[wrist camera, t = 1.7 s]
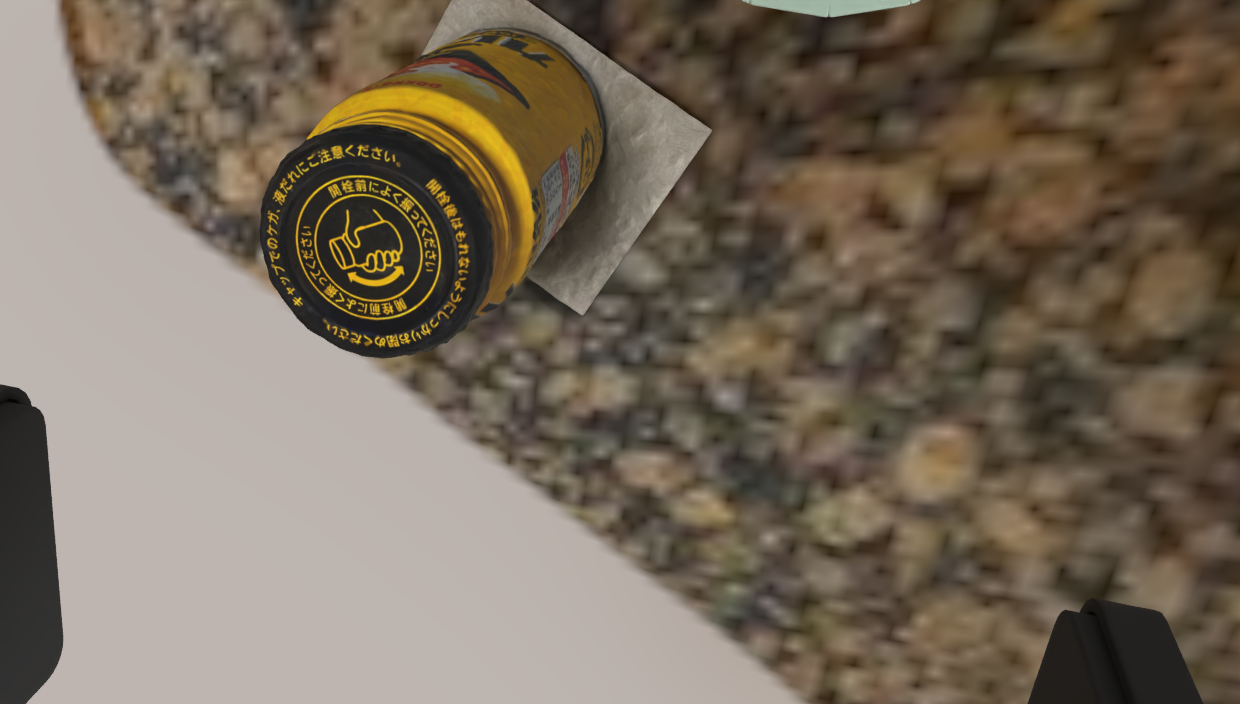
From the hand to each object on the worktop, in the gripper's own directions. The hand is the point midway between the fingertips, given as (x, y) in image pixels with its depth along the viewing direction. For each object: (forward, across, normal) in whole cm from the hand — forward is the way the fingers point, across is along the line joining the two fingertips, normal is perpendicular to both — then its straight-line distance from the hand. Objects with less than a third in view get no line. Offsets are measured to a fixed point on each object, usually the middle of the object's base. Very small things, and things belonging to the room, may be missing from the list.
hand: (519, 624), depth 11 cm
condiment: (+26, +6, +3) cm, 27 cm away
